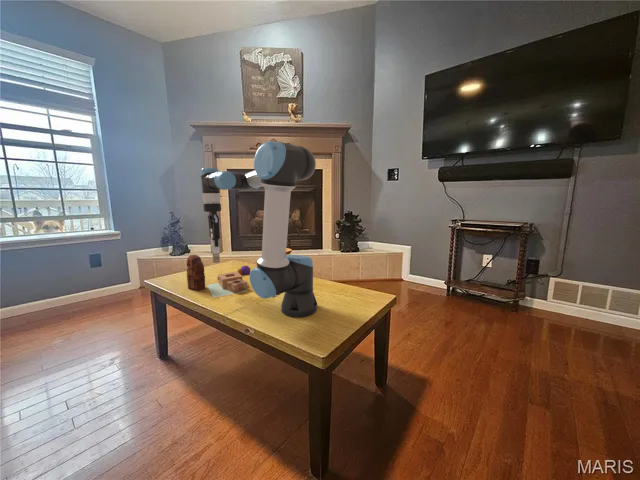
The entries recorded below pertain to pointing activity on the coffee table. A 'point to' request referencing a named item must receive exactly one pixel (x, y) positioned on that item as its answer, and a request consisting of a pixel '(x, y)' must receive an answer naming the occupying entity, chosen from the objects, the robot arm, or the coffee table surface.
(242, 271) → the kendama
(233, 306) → the coffee table surface
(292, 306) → the robot arm
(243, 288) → the brown holed brick
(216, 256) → the grey banded cylinder
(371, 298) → the coffee table surface
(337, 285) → the coffee table surface
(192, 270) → the wooden figurine
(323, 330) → the coffee table surface
